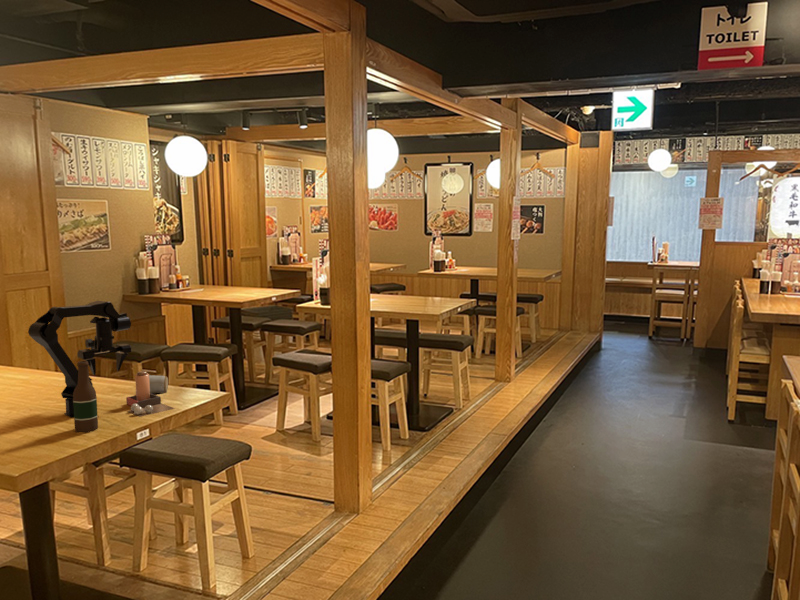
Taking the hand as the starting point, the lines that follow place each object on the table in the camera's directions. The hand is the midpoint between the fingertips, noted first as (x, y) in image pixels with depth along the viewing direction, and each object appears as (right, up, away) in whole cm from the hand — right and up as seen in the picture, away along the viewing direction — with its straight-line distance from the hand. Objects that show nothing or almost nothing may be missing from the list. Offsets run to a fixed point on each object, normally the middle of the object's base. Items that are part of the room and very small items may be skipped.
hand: (106, 372), depth 244 cm
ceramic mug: (+12, -11, +21) cm, 27 cm away
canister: (+14, -13, +1) cm, 19 cm away
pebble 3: (+21, -12, -10) cm, 26 cm away
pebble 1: (+15, -12, -9) cm, 21 cm away
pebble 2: (+18, -12, -12) cm, 25 cm away
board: (+20, -14, -6) cm, 25 cm away
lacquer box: (+14, -13, +1) cm, 19 cm away
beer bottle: (+6, -17, -27) cm, 32 cm away
